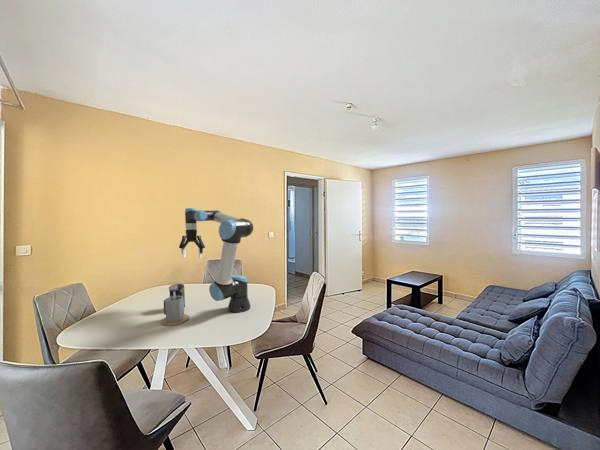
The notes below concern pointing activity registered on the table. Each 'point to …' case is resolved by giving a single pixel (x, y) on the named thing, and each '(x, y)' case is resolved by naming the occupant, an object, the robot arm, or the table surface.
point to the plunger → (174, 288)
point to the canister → (178, 292)
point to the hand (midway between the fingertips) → (192, 257)
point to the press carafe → (174, 311)
